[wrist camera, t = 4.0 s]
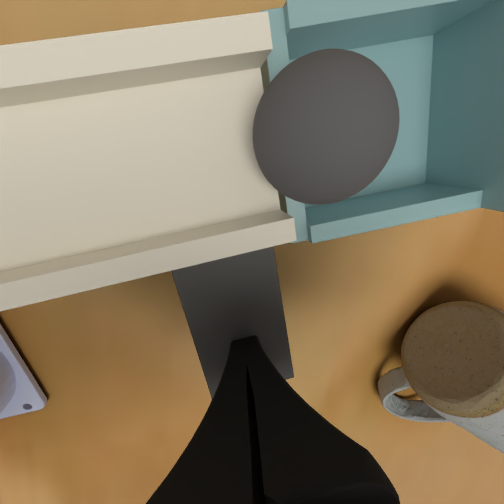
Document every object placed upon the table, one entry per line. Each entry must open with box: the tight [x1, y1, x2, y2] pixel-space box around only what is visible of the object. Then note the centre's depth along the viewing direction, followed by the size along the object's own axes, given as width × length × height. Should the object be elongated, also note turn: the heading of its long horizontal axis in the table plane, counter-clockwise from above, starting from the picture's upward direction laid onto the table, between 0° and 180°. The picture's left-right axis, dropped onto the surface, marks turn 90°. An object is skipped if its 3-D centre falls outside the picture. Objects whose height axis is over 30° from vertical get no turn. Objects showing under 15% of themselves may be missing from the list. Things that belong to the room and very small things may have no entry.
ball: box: [253, 49, 400, 205], centre depth 8 cm, size 4×4×4 cm
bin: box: [260, 0, 504, 244], centre depth 11 cm, size 10×9×6 cm
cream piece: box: [0, 11, 297, 399], centre depth 9 cm, size 14×14×4 cm
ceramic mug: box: [378, 301, 504, 453], centre depth 17 cm, size 11×8×8 cm
